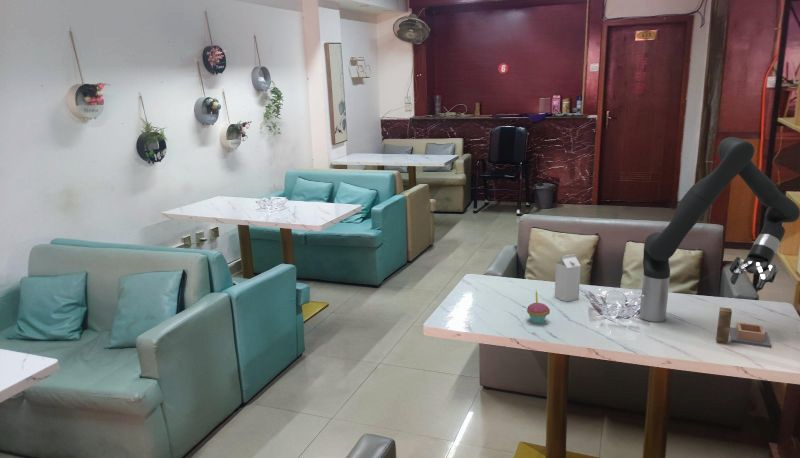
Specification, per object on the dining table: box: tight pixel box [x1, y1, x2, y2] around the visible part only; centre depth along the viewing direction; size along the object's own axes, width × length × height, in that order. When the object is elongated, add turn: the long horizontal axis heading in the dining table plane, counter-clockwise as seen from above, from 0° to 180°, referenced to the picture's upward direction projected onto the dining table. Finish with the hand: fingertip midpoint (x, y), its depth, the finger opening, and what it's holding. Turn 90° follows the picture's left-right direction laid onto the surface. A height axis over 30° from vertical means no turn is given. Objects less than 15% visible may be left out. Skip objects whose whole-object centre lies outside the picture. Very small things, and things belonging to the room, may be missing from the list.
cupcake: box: [526, 290, 551, 324], centre depth 229 cm, size 9×8×12 cm
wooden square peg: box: [715, 306, 733, 345], centre depth 209 cm, size 4×4×12 cm
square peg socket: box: [729, 321, 772, 348], centre depth 212 cm, size 12×12×4 cm
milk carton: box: [554, 253, 582, 303], centre depth 251 cm, size 7×7×19 cm
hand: (744, 286), depth 212 cm, fingers open, 8 cm apart
